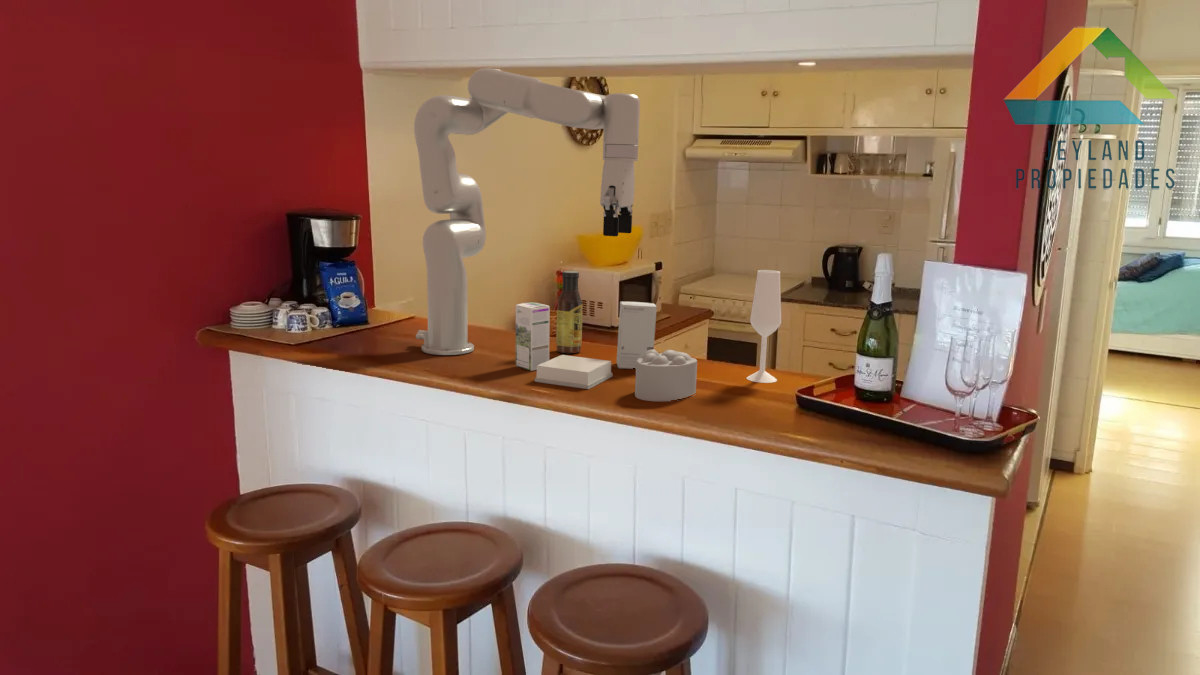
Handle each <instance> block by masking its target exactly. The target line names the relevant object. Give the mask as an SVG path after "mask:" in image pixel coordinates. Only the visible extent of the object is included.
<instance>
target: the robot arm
mask: <svg viewBox="0 0 1200 675" xmlns="http://www.w3.org/2000/svg"><path fill="white" fill-rule="evenodd" d="M467 91H468V93H469V96H470V97H463V96H457V95H456V96H455V95H451V94H450V95H449V94H441V95H440V94H439V95H435V96H432V97H430V98H428V99H427V100H425V101H424V102H423V103H422V104H421V105H420V107H419V108H418V110H417V112H416V114H415V117H414V122H413V131H414V132H413V134H414V138H415V144H416V148H417V154H418V159H419V161H418V162H419V172H420V178H421V188H422V195H423V196H422V197H423V201H424V205H425V207H426V208H427V209H428V210H429V211H430V212H432V213H433V214H438V215H440V214H441V215H446V214H448V215H449V218H447V219H441V220H437V221H434V222H433V223H431V224H430V225H428V226H427V227H426V229H425V231H424V232H423V236H422V248H423V253H424V260H425V264H426V284H427V285H426V287H427V288H426V289H427V330H422V329H418V330H417V332H416V335H415V339H417V340H423V342H424V343H423V344H421V351H422V352H423V353H425V354H429V355H437V356H457V355H466V354H469V353H472V352H473V351H474V350H475V345H474V344H473V343H472V342H468V274H467V270H466V267H465V263H464V258H470V257H475V256H476V255H478V254H479V253H480V252H481V251H482V250H483V249H484V246H485V244H486V235H487V233H486V223H485V214H484V206H483V197H482V192H481V189H480V187H479V185H478V183H477V181H476V180H475V179H474V178H473V177H472V176H470V175H468V174H465V173H458V168H457V157H456V152H455V149H454V148H453V147H454V146H453V144H452V143H451V140H450V139H449V136H450V135H451V134H454V135H465V136H468V135H469V136H470V135H477V134H479V133H481V132H483V131H484V130H486V129H487V128H489V127H490V126H491V125H493V124H494V123H496V122H497V121H499V120H500V119H502V118H503V117H504V116H505V115H507V114H508V113H509V114H515V115H518V116H521V117H526V118H530V119H534V118H535V119H538V120H541V121H546V122H550V123H554V124H558V125H562V126H566V127H570V128H577V129H585V130H601V129H602V130H603V132H602V133H603V138H602V139H603V140H602V141H603V142H602V161H604V162H603V166H602V174H601V186H600V197H599V198H600V200H599V201H600V206H601V207H603V225H602V226H603V229H602V231H603V232H602V233H603V234H602V235H603V236H604V237H618V236H619V234H631V233H632V231H633V229H632V228H633V205H634V200H635V162H638V161H639V137H640V117H641V116H640V115H641V113H640V111H641V110H640V108H641V100H640V98H639V96H638V95H637V94H634V93H622V92H619V93H618V92H617V93H616V92H615V93H609V94H607V95H603V94H597V93H593V92H589V91H584V90H580V89H579V90H578V89H574V88H573V89H572V88H568V87H564V86H559V85H553V84H550V83H546V82H543V81H541V80H540V79H539V78H537V77H532V76H527V75H524V74H523V75H522V74H517V73H513V72H509V71H504V70H500V69H496V68H488V67H486V68H483V67H482V68H480V69H478V70H475V71H474V72H473V73H472V74H471V75H470V77H469V79H468V82H467ZM618 213H619V214H618Z"/></svg>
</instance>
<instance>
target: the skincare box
mask: <svg viewBox="0 0 1200 675" xmlns="http://www.w3.org/2000/svg"><path fill="white" fill-rule="evenodd" d="M618 317H619V318H618V332H617V333H618V334H617V351H616V365H617V369H627V370H629V369H630V370H631V369H632V370H633V368H635V370H636V361H637V360H638V359H639V358H640V357H641V356H644V354H645V352H646V351H648V350H651V349H654V350H655V348H654V347H655V334H656V322H657V320H656V319H657V305H656V304H655V303H654V302H642V301H641V302H640V301H620V302H619V316H618Z"/></svg>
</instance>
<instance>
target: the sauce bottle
mask: <svg viewBox="0 0 1200 675" xmlns="http://www.w3.org/2000/svg"><path fill="white" fill-rule="evenodd" d="M561 275H562V276H561V277H562V286H561V288H562V291H561V292H560V294H559V295H558V297H557V308H556V340H555V344H556V352H557V353H561V354H567V355H568V354H569V355H570V354H571V355H572V354H577V353H580V352H581V349H582V348H581V347H582V341H583V340H582V338H583V335H582V334H583V333H582V332H583V301H582V298H581V295H580V292H579V279H580V278H579V277H580V272H579V271H575V270H570V271H569V270H567V271H566V270H565V271H564V270H563V271H562V273H561Z"/></svg>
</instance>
